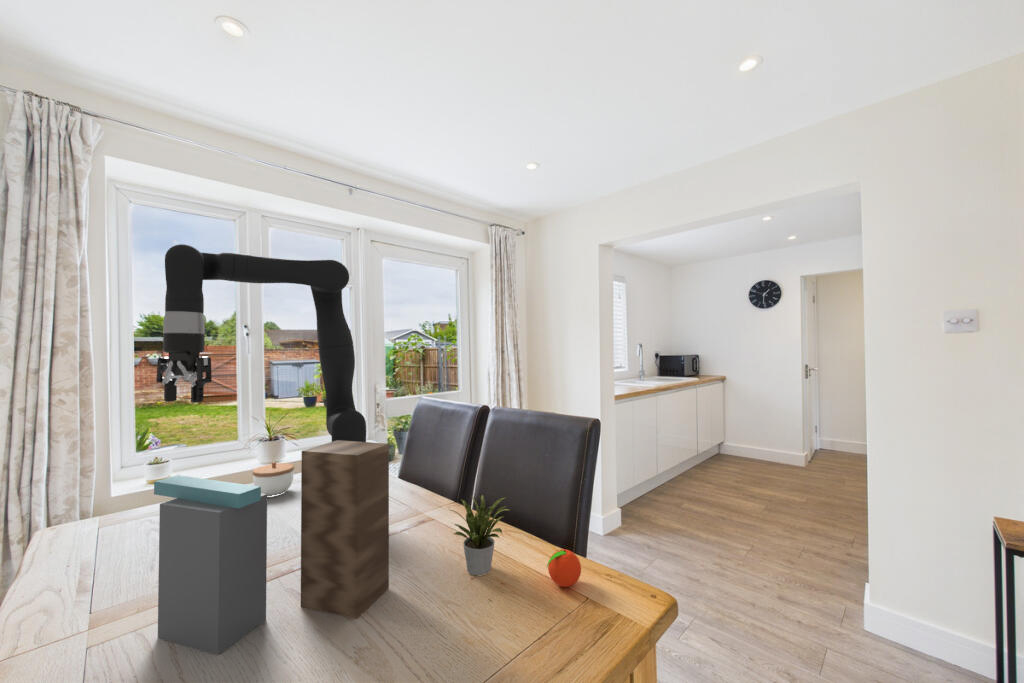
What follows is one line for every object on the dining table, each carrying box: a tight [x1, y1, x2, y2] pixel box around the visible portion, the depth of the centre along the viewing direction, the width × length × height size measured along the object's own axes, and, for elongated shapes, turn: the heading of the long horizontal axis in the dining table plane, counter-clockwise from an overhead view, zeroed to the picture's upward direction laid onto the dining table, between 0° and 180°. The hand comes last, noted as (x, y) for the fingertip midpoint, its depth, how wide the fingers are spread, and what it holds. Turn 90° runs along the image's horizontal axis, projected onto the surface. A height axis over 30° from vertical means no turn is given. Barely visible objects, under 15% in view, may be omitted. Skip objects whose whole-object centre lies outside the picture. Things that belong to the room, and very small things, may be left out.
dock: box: [157, 493, 268, 656], centre depth 73 cm, size 14×9×23 cm, turn 73°
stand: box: [300, 440, 390, 620], centre depth 82 cm, size 13×10×30 cm
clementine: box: [546, 548, 582, 588], centre depth 85 cm, size 8×7×7 cm
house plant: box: [449, 494, 510, 576], centre depth 92 cm, size 14×14×16 cm
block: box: [153, 474, 261, 508], centre depth 74 cm, size 22×4×2 cm, turn 71°
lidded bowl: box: [252, 461, 295, 496], centre depth 142 cm, size 13×13×11 cm
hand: (183, 401), depth 94 cm, fingers open, 8 cm apart
